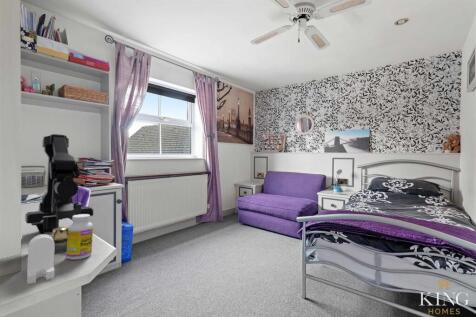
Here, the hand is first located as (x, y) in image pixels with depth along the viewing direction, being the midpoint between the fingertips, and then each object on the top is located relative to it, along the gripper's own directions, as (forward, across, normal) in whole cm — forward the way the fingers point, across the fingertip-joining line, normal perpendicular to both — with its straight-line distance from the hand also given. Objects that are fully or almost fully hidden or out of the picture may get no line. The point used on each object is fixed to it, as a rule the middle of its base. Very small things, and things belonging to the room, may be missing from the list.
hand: (60, 238), depth 84 cm
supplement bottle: (+3, +2, -15) cm, 15 cm away
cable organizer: (+3, -8, -22) cm, 23 cm away
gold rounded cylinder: (+2, 0, 0) cm, 2 cm away
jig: (+2, 0, 0) cm, 2 cm away
